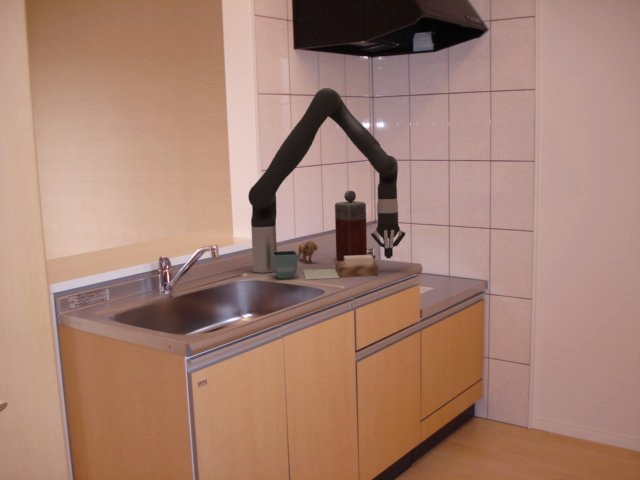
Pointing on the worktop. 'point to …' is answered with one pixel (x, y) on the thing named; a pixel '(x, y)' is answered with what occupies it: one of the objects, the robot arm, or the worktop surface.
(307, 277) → the mat
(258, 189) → the robot arm
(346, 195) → the red drink dispenser
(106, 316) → the worktop surface
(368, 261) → the beige flat block
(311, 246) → the lion figurine
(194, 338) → the worktop surface
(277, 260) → the flower pot
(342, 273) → the brown wooden block
